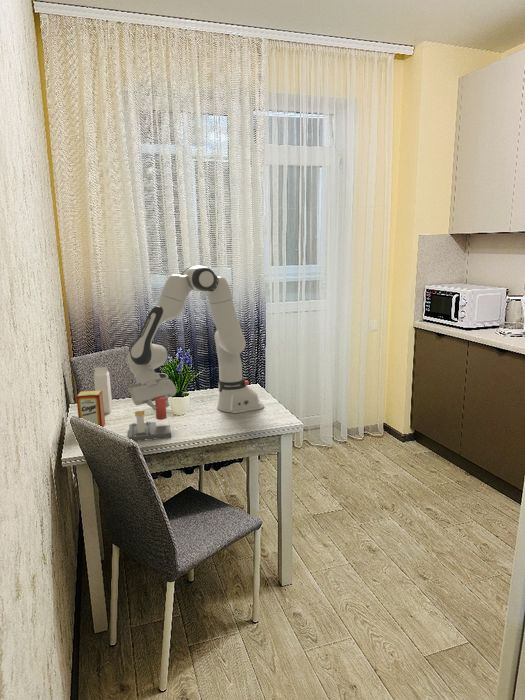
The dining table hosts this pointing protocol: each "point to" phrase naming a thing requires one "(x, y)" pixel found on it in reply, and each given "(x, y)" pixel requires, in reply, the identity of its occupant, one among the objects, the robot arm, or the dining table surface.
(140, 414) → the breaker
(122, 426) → the dining table surface
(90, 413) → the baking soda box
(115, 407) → the dining table surface
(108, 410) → the milk
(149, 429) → the panel
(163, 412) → the cap
